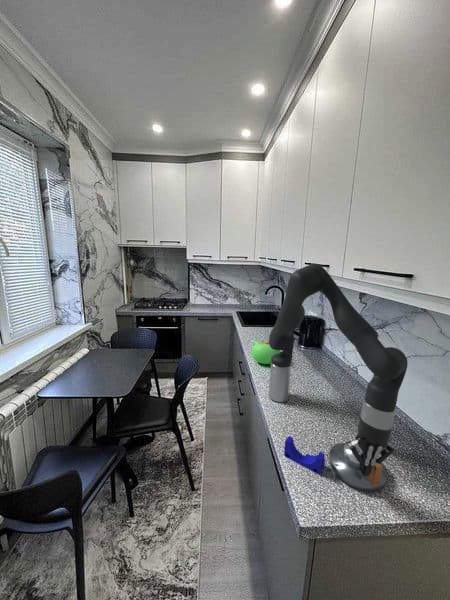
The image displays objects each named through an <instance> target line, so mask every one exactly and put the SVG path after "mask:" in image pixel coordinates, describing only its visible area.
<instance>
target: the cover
mask: <svg viewBox="0 0 450 600" xmlns="http://www.w3.org/2000/svg"><path fill="white" fill-rule="evenodd" d="M344 443H345V445H344V453H343V459H344V461H345V463H346V464H347V465H349V466H350V467H352V468H354V469H356V470H359V465H360V463H359V462H358V460H357V459H356V457H355V456H354V454H353V453H352V451H351V450H350V448H349V447H348V445H347V442H344ZM357 452H358V453H359V455H360V447H359V445H358V451H357Z"/></svg>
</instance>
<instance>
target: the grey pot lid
mask: <svg viewBox="0 0 450 600" xmlns="http://www.w3.org/2000/svg"><path fill="white" fill-rule="evenodd" d="M345 443H346V442H341V443H337V444H334V445H332V447H331V448H329V449H330V450H329V454H328V463H329V466H330V468H331V470H332V471H333V472H334V474H335V476H337V477H338V478H339V479H340V480H342V481H343V482H344V483H346V484H347V485H349V486H351V487H352V488H356V489H358V490H361V491H365V492H377V491H380V490H381V489H383V488H384V487H385V485H386V483H387V482H386V481H387V476H388V474H387V469H386V467H385V465H384V463H383V462H382V463H380V464H378V463H375V465H374V466H373V467H372V471H371V474H370V475H369V476H363V475H362V473H361V472H360V470H356V469H354V468H352V467H350V466H349V465H347V464H346V463H345V461H344V459H343V453H344V445H345Z"/></svg>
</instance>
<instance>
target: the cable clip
mask: <svg viewBox="0 0 450 600" xmlns="http://www.w3.org/2000/svg"><path fill="white" fill-rule="evenodd" d="M283 452H284V453H283V456H284V457H285V458H288V459H289V460H291V461H293V462H294V463H296V464H298V465H300V466H302V467H303V468H305V469H308V470H309V471H311V472H313V473H315V471H316V474H317V475H318V476H321V474H322V472H323V470H324V468H325V465H326V464H325V463H326V459H325V453H324V452H322V451H319V452H318V454H315V455H311V454H308V453H306V454H305V455H303V454H302V453H301V452H300V451H299V450H298V448H297V447H296V445H295V442H294V437H292V436H291V435H288V436H287V438H286V439H285V440H284V451H283Z"/></svg>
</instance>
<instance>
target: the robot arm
mask: <svg viewBox="0 0 450 600" xmlns="http://www.w3.org/2000/svg"><path fill="white" fill-rule="evenodd" d="M286 286H287V287H286V291H285V297H284V300H283V303H282V305H281V307H280V311H279V312H278V316H277V319H276V321H275V324H274V326H273V328H272V329H271V331H270V333H269V337H268V341H269V345H270V347H271V348H272V349H274V350H280V353H278V354H275V355H273V356H272V358H271V364H270V372H269V386H268V387H269V389H268V397H269V398H270V399H271V401H274V402H278V403H285V402H287V401H289V394H290V393H289V391H290V384H291V383H290V382H291V370H292V369H291V368H292V361H293V355H294V354H293V353H294V346H295V335H294V331H296V330H297V329H298V328H299V327H300V326H301V324H302V322H303V320H304V319H305V315H306V311H305V308H304V306H303V303H304V301H305V300H307V298H310V297H311V296H313V295H314V294H316V293H318V292H320V293H322V294H323V295H324V296H325V297H326V298H327V300H328V301H329V303H330V304H329V305H330V307H331V311H332V315H333V318H334V322H335V325H336V326H337V328H338V329H339V331H340V332H341V334H342V335H343V336H345V337H346V339H347V340H348V341H349V342H350V343H351V344H352V345H353V346H354V347H355V349H356V351H357V353H358V354H359V356H360V358H361V359H362V361H363V363H364V364H365V365H366V367H367V369H369V371H370V372H371V373H372V374H373V376H372V378H371V379H370V380H369V382H368V384H367V386H366V391H365V396H364V399H363V403H362V405H361V409H360V415H359V420H358V425H357V435H356V436H355V440H353V441H350V440H347V441H346V443H347V445H348V447H349V448H350V450H351V451H352V453H353V454H354V456H355V457H356V459H357V460H358V462H359V463H360V465H359V470H360V472H361V473H362V475H363V476H369V475H370V474H371V471H372V467H373V466H374V465H375V463H378V464H380V463H383V462H384V461H385V460H386V459H387V458H388V457H389V456H391V455H392V454H393V453H394V452H395V449H394V448H393V447H392V446H391V445H390V444H389V441H390V438H391V435H392V429H393V425H394V422H395V421H394V420H395V412H396V406H397V402H398V396H399V391H400V388H401V386H402V384H403V381H404V378H405V376H406V373H407V371H408V370H407V369H408V366H409V365H408V362H409V361H408V358H407V356H406V355H405V353H404V352H403V351H402V350H400V349H399V348H397V347H393V346H389V347H386V346H384V344H383V343H382V342H381V341H380V339H379V333H378V332H377V330H376V329H375V328H374V326H372V325H371V324H370V322H369V321H367V320H366V318H364V316H362V315H361V314H360V313H359V311H357V310H356V308H355V307H354V306H353V305H352V304H351V303H350V301H349V300H348V298H347V297H346V296H345V294H344V292H343V291H342V290H341V288H340V287H339V286H338V285H337V283H336V282H335V281H334V279H333V278H332V276H331V275H330V274H329V273H328V271H327V270H326V269H325V268H324V266H322V265H321V264H318V263H311V264H308V265H305V266H303V267H301V268H298V269H296V270H295V271H293V272H292V273H291V274H290V276H289V279H288V281H287V285H286ZM358 445H359V447H360V455H359V453H358V452H357V451H358Z"/></svg>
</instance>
